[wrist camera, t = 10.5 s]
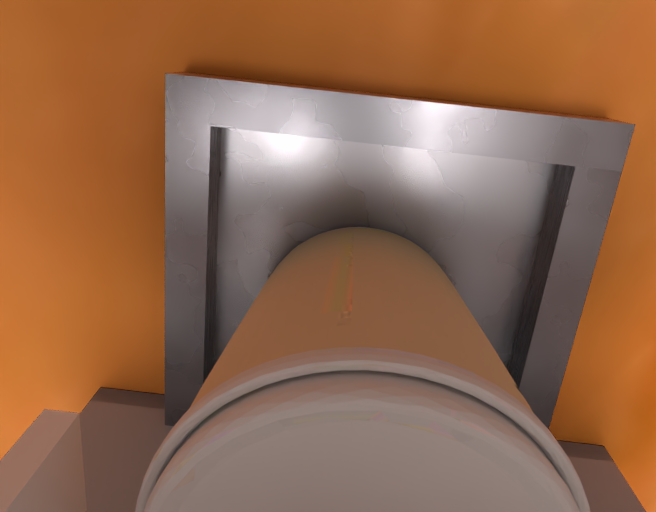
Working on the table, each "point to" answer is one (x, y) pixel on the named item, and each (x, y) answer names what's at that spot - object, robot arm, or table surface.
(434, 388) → the coffee cup
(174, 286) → the plate
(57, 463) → the robot arm
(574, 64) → the table surface
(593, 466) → the wall board
